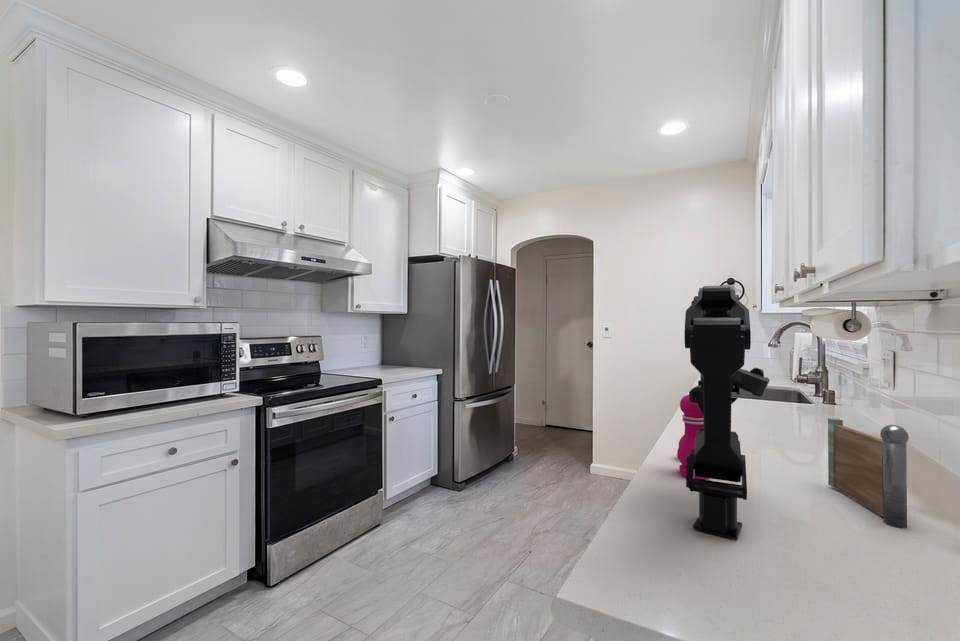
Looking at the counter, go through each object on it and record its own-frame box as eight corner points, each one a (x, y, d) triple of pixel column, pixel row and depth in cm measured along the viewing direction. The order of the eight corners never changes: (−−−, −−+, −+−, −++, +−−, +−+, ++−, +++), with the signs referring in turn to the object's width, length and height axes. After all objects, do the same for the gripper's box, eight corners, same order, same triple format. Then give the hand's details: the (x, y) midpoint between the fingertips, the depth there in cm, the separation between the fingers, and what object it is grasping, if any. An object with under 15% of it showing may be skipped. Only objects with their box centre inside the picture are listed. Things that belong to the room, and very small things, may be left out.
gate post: (911, 530, 74) (910, 428, 74) (882, 525, 76) (881, 425, 76) (907, 523, 77) (906, 424, 77) (880, 517, 79) (879, 421, 79)
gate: (880, 515, 79) (880, 436, 79) (828, 484, 94) (827, 418, 94) (892, 516, 78) (891, 436, 79) (837, 485, 94) (837, 418, 94)
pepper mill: (675, 477, 100) (675, 388, 100) (678, 468, 106) (678, 384, 106) (712, 483, 97) (711, 390, 97) (712, 473, 103) (712, 386, 103)
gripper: (760, 359, 74) (761, 453, 74) (770, 353, 89) (771, 431, 89) (688, 356, 81) (688, 442, 81) (708, 351, 96) (709, 424, 95)
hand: (717, 435), depth 86 cm, fingers closed
